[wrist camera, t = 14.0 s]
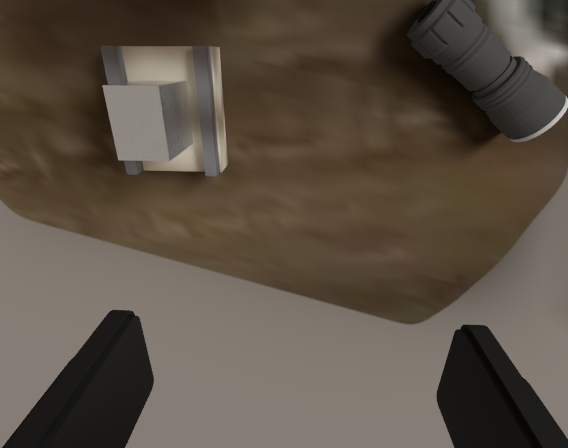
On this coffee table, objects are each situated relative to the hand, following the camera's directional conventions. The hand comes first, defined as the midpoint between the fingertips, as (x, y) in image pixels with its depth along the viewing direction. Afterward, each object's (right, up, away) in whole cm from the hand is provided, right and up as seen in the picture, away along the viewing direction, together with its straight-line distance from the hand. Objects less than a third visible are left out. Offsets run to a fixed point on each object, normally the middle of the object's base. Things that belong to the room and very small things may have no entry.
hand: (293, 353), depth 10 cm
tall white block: (-12, +15, +24) cm, 31 cm away
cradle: (-12, +16, +27) cm, 33 cm away
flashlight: (+19, +19, +24) cm, 36 cm away
